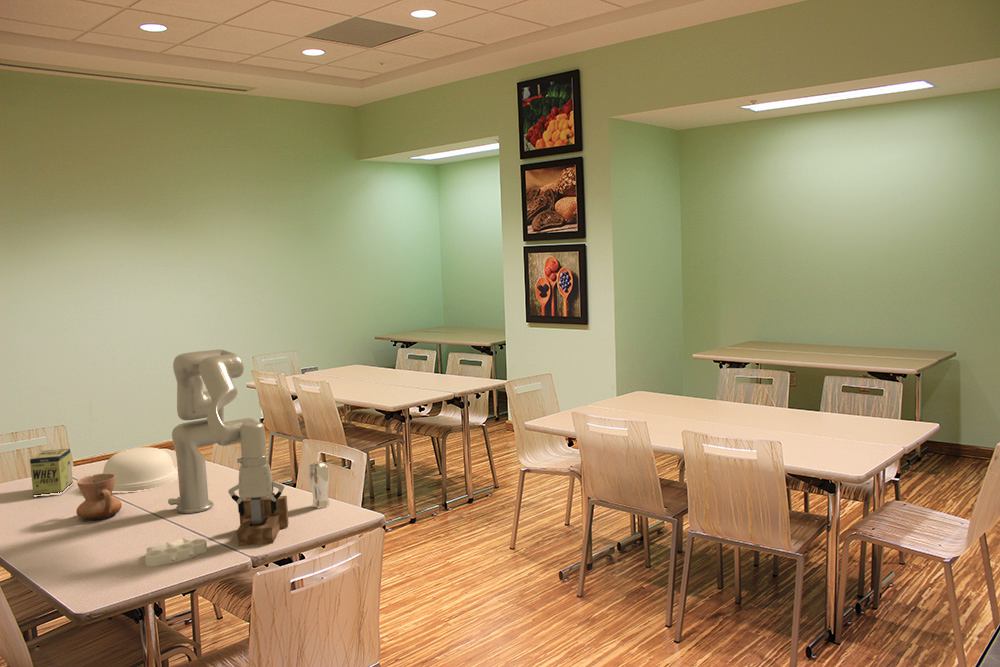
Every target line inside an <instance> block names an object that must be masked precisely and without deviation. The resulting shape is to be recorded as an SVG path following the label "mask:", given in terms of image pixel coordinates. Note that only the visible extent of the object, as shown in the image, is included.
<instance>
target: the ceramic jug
mask: <svg viewBox="0 0 1000 667" xmlns="http://www.w3.org/2000/svg"><path fill="white" fill-rule="evenodd" d="M76 484H77V486H78V489H79V491H80V494H82V496H83V498H84V499H85V500H84V501H83V502H81V503H80V504H79V505H78V506H77V508H76V515H77V516H78V517H79V518H80V519H83V520H90V521H92V520H95V519H97V520H103V519H107V518H109V517H112V516H115V515H116V514H117V513H119V511H121V509H122V507H123V506H122V505H123V504H122V501H121V500H120V499H119V498H118V497H117V498H116V497H114V496H112V494H113V493H112V491H113V488H114V484H115V475H114V474H110V473H103V472H102V473H95V474H93V475H87V476H83V477H80V478H79V479H78V480H77V481H76ZM106 517H107V518H106ZM102 518H103V519H102Z"/></svg>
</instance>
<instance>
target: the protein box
mask: <svg viewBox="0 0 1000 667" xmlns="http://www.w3.org/2000/svg"><path fill="white" fill-rule="evenodd" d="M71 456H72V455H71V449H70V448H62V449H51V450H50V449H49V450H42V451H40V452H39V453H37V454H36V455H34V456H33V457H31V458H30V459H29V464H30V475H31V485H32V486H31V488H32V495H41V494H50V493H58V492H59V493H60V492H63V491H64V490H65V489H66V488H67V487H68V486H70V485H71V484H72V483H73V484H74V480H73V469H72V457H71Z"/></svg>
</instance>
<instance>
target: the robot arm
mask: <svg viewBox="0 0 1000 667" xmlns="http://www.w3.org/2000/svg"><path fill="white" fill-rule="evenodd" d="M244 369H245V368H244V363H243V361H242V359H241V358H240V356H239V355H238V354H236V353H234V352H231V351H228V350H225V349H210V350H200V351H198V350H197V351H192V352H183V353H180V354H178V355H177V356H175V357H174V360H173V363H172V370H173V373H174V376H175V379H176V385H177V386H176V412H177V416H178V418H179V419H180V420H182V421H187V422H183V423H180V424H178V425H176V426H175V427H174V428H173V429H172V432H171V440H172V442H173V446H174V451H175V457H176V466H177V468H178V480H177V481H178V490H179V492H178V493H179V497H177V498H174V497H173V498H172V497H171V498H168V500H167V502H168V505H170V506H175V505H176V508H175V511H176V512H177V513H180V514H193V513H194V514H195V513H200V512H204V511H208V510H210V509H211V508H213V507H214V501H212V500H209V491H208V479H207V478H208V476H207V467H206V466H207V465H206V459H205V456H204V455H203V454H202V453H201V452H200V451H199V449H198V448H201V447H206V446H211V445H216V444H218V445H219V446H221V447H226V446H231V445H237V444H240V451H241V453H240V454H241V457H240V458H237V460H236V461H237V464H241V466H239V469H238V470H239V471H238V484H236V485H233V487H231V488H229V489H228V494H229V496H230V497H231V499H232V500H233V501H234V502H235V503H236V504H237V510H238V514H239V513H240V515H239V517H240V516H243V515H244V513H245V509H244V502H243V499H246V498H261V497H269V498H270V499H271V500H272V501H271V513H272V514H274V513H275V510H277V501H276V500H277V499H278V498H279V496H282V494H283V491H284V489H285V485H284V484H281V483H278V482H276V481H274V480H273V476H272V475H273V474H272V470H271V466H270V463H268V459H267V458H268V457H267V443H266V428H265V425H264V423H263V422H260V421H257V420H256V419H254V418H251V417H247V418H242V419H241V418H240V419H233V420H229V421H224V417H225V416H224V415H225V412H224V411H225V408H224V407H226V406H227V405H229V404H230V403H231V402H233V400H235V399H236V398H237V395H238V389H237V387H236V385H235V383H234V381H233V379H239V378H240V377H241V376H242V375H243V374H244ZM204 385H205V388H206V390H204V389H203V388H204ZM203 390H204V391H203ZM200 419H201V420H200ZM275 488H276V489H278V491H277V493H275V492H274V489H275ZM236 491H238V495H237V494H236Z"/></svg>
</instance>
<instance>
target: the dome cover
mask: <svg viewBox="0 0 1000 667" xmlns="http://www.w3.org/2000/svg"><path fill="white" fill-rule="evenodd" d="M103 473H110V474H114V475H115V484H114V488H113V491H137V490H144V489H150V488H155V487H159V486H163V485H166V484H169V483H171V482H173V481H175V480H177V479H178V468H177V465H176V466H175V464H174V462H173V459H172V457H171V456H170V454H169V453H168V452H167V451H165V450H164V449H161V448H157V447H150V446H149V447H146V446H145V447H143V446H142V447H135V448H129V449H126V450H122V451H120V452H116V453H115V454H114V455H112V456H110V457H109V458H108V459H107V461H106V463H105V465H104V467H103V471H102V474H103ZM177 481H178V480H177Z"/></svg>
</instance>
